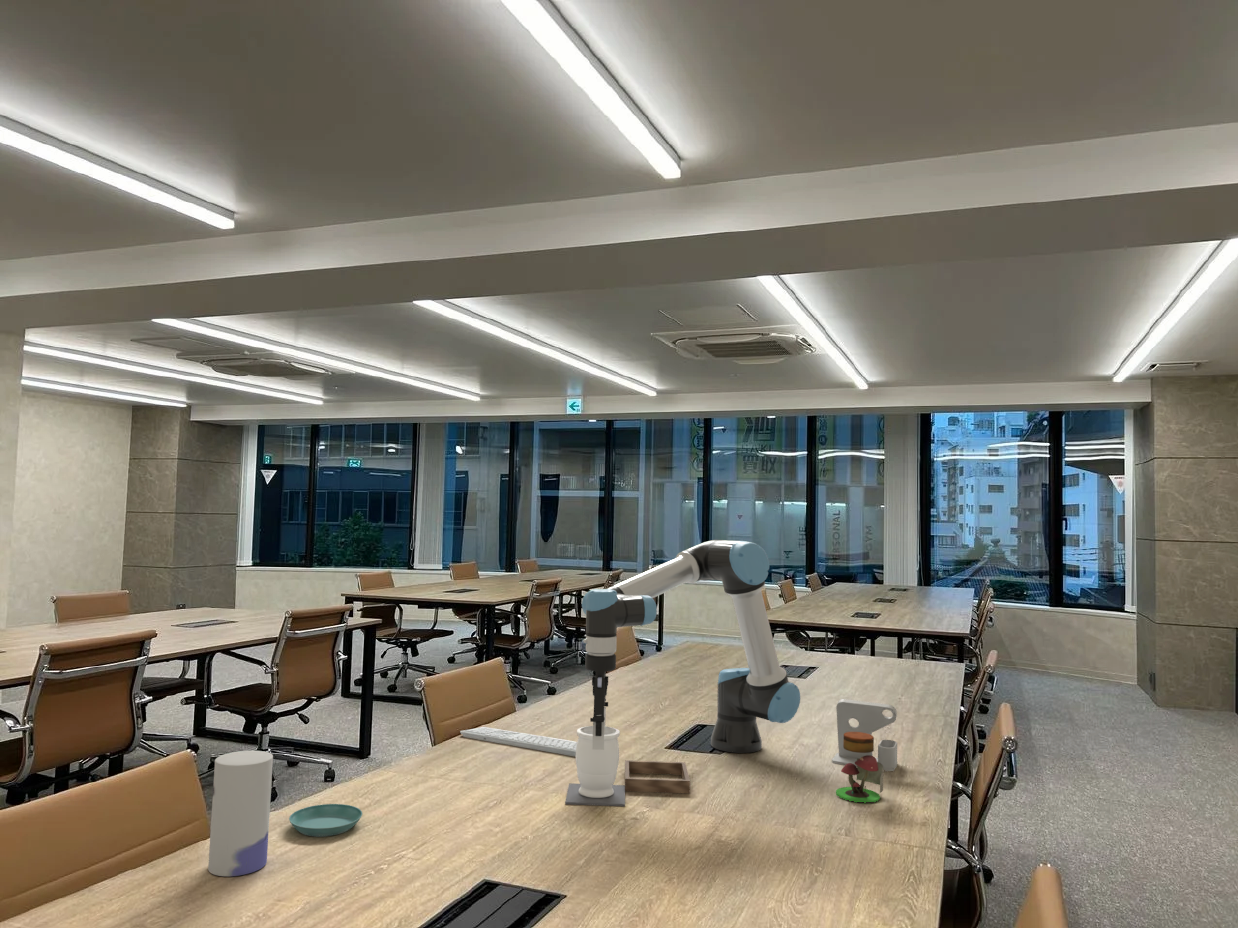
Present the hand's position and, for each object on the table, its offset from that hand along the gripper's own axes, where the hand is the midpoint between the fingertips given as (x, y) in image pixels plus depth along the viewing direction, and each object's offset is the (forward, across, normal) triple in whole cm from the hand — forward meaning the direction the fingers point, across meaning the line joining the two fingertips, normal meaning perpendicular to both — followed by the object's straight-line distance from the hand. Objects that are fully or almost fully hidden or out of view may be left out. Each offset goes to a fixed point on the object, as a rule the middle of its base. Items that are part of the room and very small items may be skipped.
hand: (599, 741), depth 204 cm
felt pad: (+13, 0, 0) cm, 13 cm away
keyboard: (+14, -46, -21) cm, 52 cm away
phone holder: (+15, -36, +75) cm, 84 cm away
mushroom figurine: (+14, -6, +65) cm, 67 cm away
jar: (+12, 0, 0) cm, 13 cm away
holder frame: (+13, -12, +14) cm, 23 cm away
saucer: (+12, +26, -57) cm, 64 cm away
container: (+12, +47, -66) cm, 82 cm away
